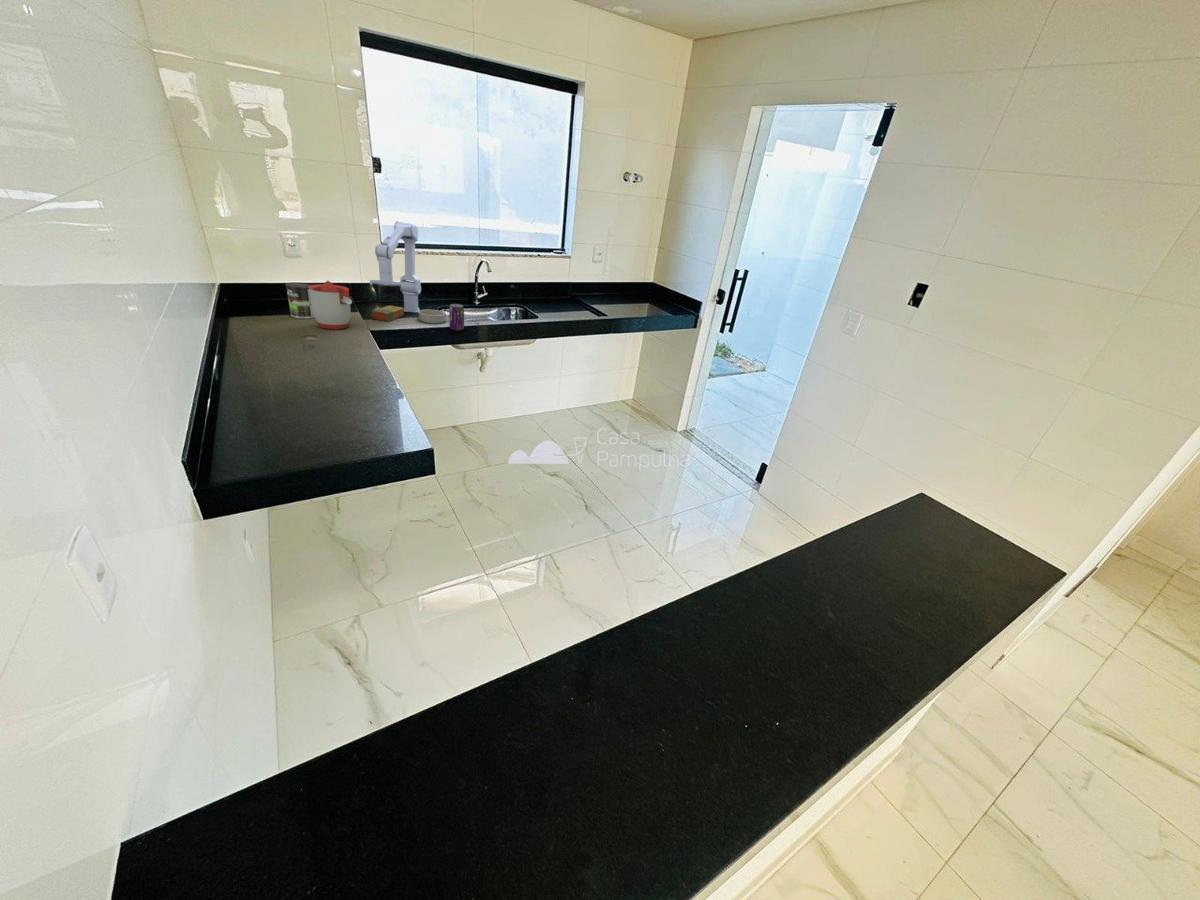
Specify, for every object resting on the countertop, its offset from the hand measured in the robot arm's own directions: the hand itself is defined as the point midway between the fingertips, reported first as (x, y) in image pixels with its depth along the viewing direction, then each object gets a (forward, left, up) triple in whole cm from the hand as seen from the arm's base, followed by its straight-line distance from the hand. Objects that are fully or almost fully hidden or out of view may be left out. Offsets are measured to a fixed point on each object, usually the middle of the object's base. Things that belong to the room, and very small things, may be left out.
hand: (387, 301), depth 227 cm
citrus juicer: (+18, -21, -10) cm, 29 cm away
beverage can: (+9, +32, -10) cm, 35 cm away
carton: (-6, -1, -10) cm, 11 cm away
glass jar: (+2, -37, -10) cm, 38 cm away
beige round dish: (-6, +20, -9) cm, 23 cm away
